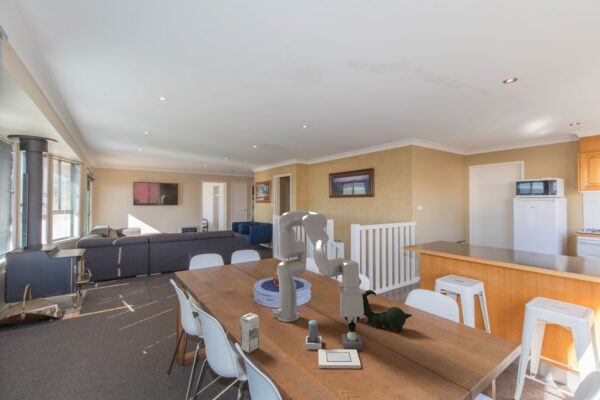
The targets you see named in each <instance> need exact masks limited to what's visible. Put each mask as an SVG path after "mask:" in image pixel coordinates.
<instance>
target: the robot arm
mask: <svg viewBox="0 0 600 400" xmlns="http://www.w3.org/2000/svg"><path fill="white" fill-rule="evenodd" d="M278 221H279V222H278V226H279V234H280V235H279V237H280V239H279V242H280V243H279V252H280V253H279V254H280V256H281V258H283V259H285V260H283V261H281V262H279V263H278V264H277V266H276V273H277V279H278V290H279V291H278V292H279V308H277V309H271V314H273V315H275V316H276V315H277V316H276V318H277V320H278V321H280V322H283V323H292V322H293V323H294V322H296V321H298V320H299V319H301V318H300V317H301V316H300V313H299V312H298V306H297V305H298V303H297V300H298V299H297V298H298V297H297V284H296V281H295V280H294V277H297V276H300V275H303V274H304V273H305V271H306V269H307V254H308V253H307V251H308V250H307V245H306V243H305V241H303V240H302V239H299V238H298V239H296V235H297V234H296V231H295V229H294V227H302V228H303V229H304V231H305V233H306V235H307V237H308V238H309V239H310V242H311V243H312V245H313V250H312V251H313V252H312V253H313V260H314V263H315V265H316V267H317V268H318V270H319V272H320V273H321V275H322V276H323V277H324V278H328V279H331V278H334V277H337V276H341V281H342V282H341V286H338V290H339V291H341V292H340V294H341V295H339V318H340V319H344V320H345V321H347V323H348V327H347V328H348V330H350V331H349V332H355V330H357V328H356V327H357V326H356V324H357V322H358V321H359V320H361V319H363V318H365V315H364V307H363V298H362V294H363V293H362V292H361V289H360V290H359V278H360V265H359V263H358V262H357V261H355V260H350V259H349V260H348V259H345V258H342V257H337V258H333V259H330V260H329V258H328V257H327V255H326V252H325V250H324V247H325V245H326V244H327V243H328V242H329V240H330V236H329V235H328V233H327V232H326V230H325V228H327V225H328V220H327V217H326V216H325V214H324V213H320V212H315V211H311V210H292V211H291V210H290V211H287V212H283V213H282V214H281V215H280V217H279V220H278ZM350 317H353V320H351V319H350ZM355 333H356V332H355Z"/></svg>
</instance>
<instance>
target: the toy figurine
mask: <svg viewBox="0 0 600 400" xmlns="http://www.w3.org/2000/svg"><path fill="white" fill-rule="evenodd" d="M370 295H373V296H377V293H376V292H375V291H374V290H371V289H368V290H365V292H364V293H362V298H363V307H364V317H366V318H367V320H366V323H367V325H371V323H372V324H373V325H374V328H375V329H379V327H380V326H381V327H382V329H384V330H387V329H389V327H393V328H395V330H396V332H399V333H400V332H402V331H403V327H404V325H405V324H406V320H407V319H409V318H411V317H412V316H413V315H412V314H411V313H407V312H405V311H404V310H403V309H402V308H400V307H397V306H391V307H389V308H388V309H387V310H386V311H382V312H380V313H379V312H375V311H373V310H372V308H371V305H370V304H369V299H368V296H370Z"/></svg>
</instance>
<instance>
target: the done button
mask: <svg viewBox="0 0 600 400" xmlns="http://www.w3.org/2000/svg"><path fill="white" fill-rule="evenodd" d="M346 334H347V341H357V337H356V334H357V333H356V332H353V331H352V332H351V331H348V332H347V333H346Z"/></svg>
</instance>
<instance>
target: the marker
mask: <svg viewBox="0 0 600 400" xmlns="http://www.w3.org/2000/svg"><path fill="white" fill-rule="evenodd" d="M308 336H309V342H308V343H319V342H318V336H319V322H318V320H315V319H311V320H309V321H308Z"/></svg>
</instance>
